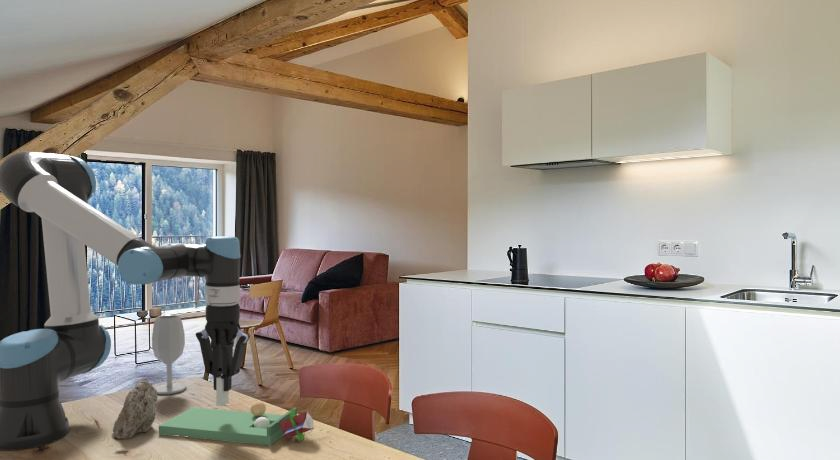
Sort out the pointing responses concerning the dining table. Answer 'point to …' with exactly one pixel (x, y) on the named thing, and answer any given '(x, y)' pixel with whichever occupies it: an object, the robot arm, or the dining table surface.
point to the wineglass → (168, 348)
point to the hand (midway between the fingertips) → (222, 404)
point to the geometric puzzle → (297, 425)
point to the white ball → (261, 423)
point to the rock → (136, 411)
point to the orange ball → (258, 408)
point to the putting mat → (225, 426)
